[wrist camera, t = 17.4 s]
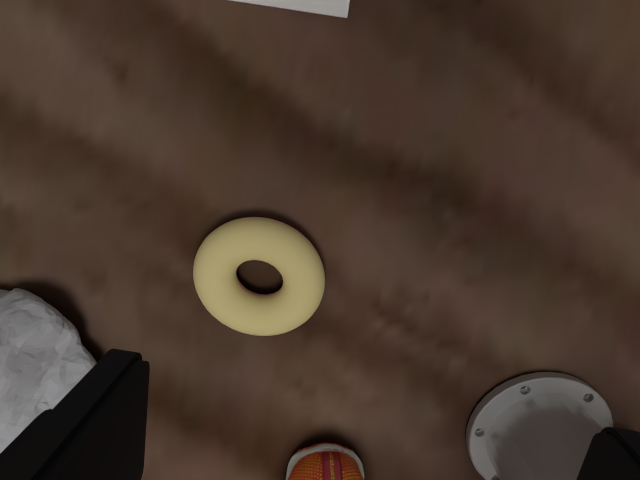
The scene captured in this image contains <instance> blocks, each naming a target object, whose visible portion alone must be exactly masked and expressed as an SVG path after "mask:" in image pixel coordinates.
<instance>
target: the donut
mask: <svg viewBox="0 0 640 480" xmlns="http://www.w3.org/2000/svg"><path fill="white" fill-rule="evenodd" d="M248 260H260V261H264V262H267V263H269V264H271V265H273V266H274V267H275V268H277V269H278V271H279V272H280V273H281V275H282V277H283V285H282V287H281V289H280V290H279V291H277V292H275V293H272V294H266V295H264V294H257V293H254V292H251V291H249V290H248V289H246V288H245V287H244V286H243V285H242V284H241V283H240V282H239V280H238V278H237V275H236V271H237V268H238V266H239V265H240V264H241V263H243V262H245V261H248ZM193 278H194V284H195V288H196V291H197V293H198V296H199V298H200V300H201V301H202V303H203V305H204V306H205V307H206V309H207V310H208V311H209V312H210V313H211V314H212V315H213V316H214V317H215V318H216V319H217V320H219V321H220V322H221V323H223V324H225V325H226V326H228V327H230V328H232V329H234V330H237V331H239V332H242V333H246V334H251V335H258V336H270V335H277V334H282V333H285V332H288V331H291V330H293V329H295V328H297V327H298V326H300V325H302V324H303V323H304V322H305V321H307V320H308V319H309V318H310V317H311V316H312V315H313V313H314V312H315V311H316V309H317V308H318V306H319V304H320V302H321V299H322V297H323V293H324V288H325V274H324V268H323V264H322V261H321V259H320V256H319V254H318V253H317V251H316V249H315V248H314V246H313V245H312V244H311V242H310V241H309V240H308V239H307V238H306V237H305V236H304V235H302V234H301V233H300V232H299V231H297V230H296V229H294V228H293V227H291V226H289V225H287V224H285V223H283V222H280V221H277V220H274V219H270V218H264V217H245V218H239V219H235V220H232V221H229V222H227V223H225V224H223V225H221V226H219V227H218V228H216V229H215V230H214V231H213V232H211V233H210V234H209V235H208V236H207V237H206V238H205V240H204V241H203V242H202V244H201V246H200V247H199V249H198V252H197V254H196V257H195V261H194V267H193Z"/></svg>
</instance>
